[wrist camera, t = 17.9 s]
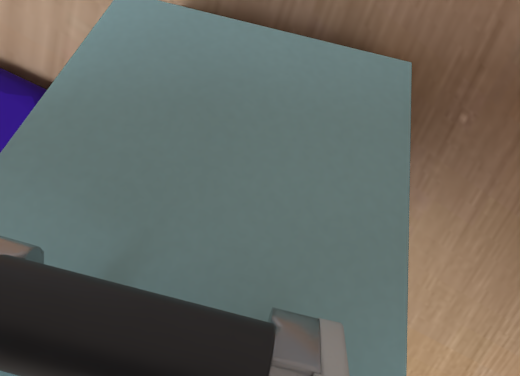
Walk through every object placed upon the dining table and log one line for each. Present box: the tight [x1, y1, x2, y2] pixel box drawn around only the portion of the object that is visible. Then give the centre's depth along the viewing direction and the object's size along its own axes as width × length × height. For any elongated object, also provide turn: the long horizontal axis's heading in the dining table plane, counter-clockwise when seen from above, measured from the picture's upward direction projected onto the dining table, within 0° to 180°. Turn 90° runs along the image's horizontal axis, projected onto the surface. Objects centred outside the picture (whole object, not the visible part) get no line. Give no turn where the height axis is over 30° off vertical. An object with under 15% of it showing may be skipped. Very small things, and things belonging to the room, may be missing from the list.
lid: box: [0, 0, 412, 376], centre depth 12 cm, size 16×13×5 cm
